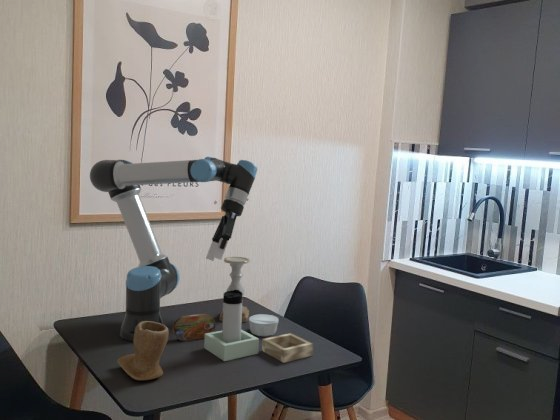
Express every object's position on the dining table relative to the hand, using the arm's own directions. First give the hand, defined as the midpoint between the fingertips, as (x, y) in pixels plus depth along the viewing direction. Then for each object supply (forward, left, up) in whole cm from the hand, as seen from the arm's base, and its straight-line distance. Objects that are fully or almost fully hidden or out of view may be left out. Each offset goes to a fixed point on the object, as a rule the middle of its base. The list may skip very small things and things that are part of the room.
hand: (213, 259), depth 178 cm
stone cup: (-30, -14, -29) cm, 44 cm away
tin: (-4, +5, -29) cm, 30 cm away
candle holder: (+21, +18, -29) cm, 40 cm away
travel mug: (+1, -12, -29) cm, 31 cm away
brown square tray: (+16, -23, -29) cm, 40 cm away
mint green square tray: (+1, -12, -29) cm, 31 cm away
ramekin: (+21, -2, -29) cm, 36 cm away
